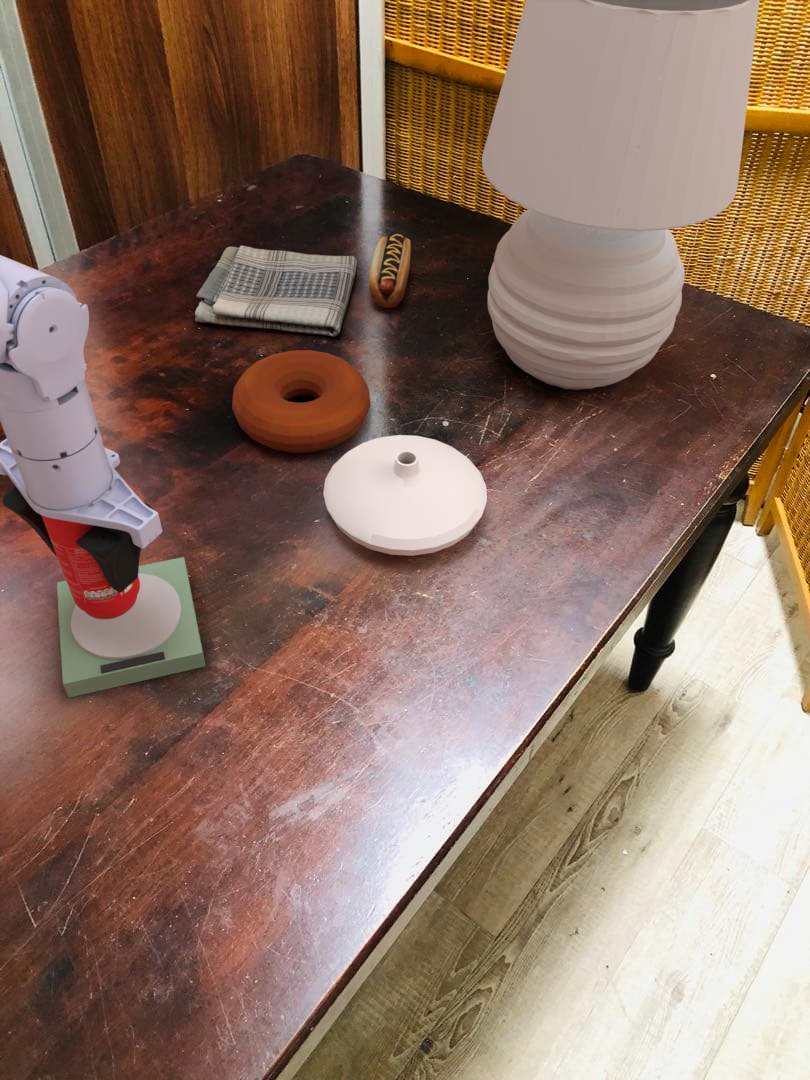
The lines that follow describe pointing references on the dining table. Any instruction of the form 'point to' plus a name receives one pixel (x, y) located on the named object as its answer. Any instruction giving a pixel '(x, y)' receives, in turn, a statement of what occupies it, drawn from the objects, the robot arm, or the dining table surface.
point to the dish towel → (278, 291)
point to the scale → (131, 634)
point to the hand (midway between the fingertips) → (99, 568)
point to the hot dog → (389, 270)
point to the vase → (405, 495)
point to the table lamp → (610, 173)
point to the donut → (306, 423)
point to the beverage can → (87, 573)
